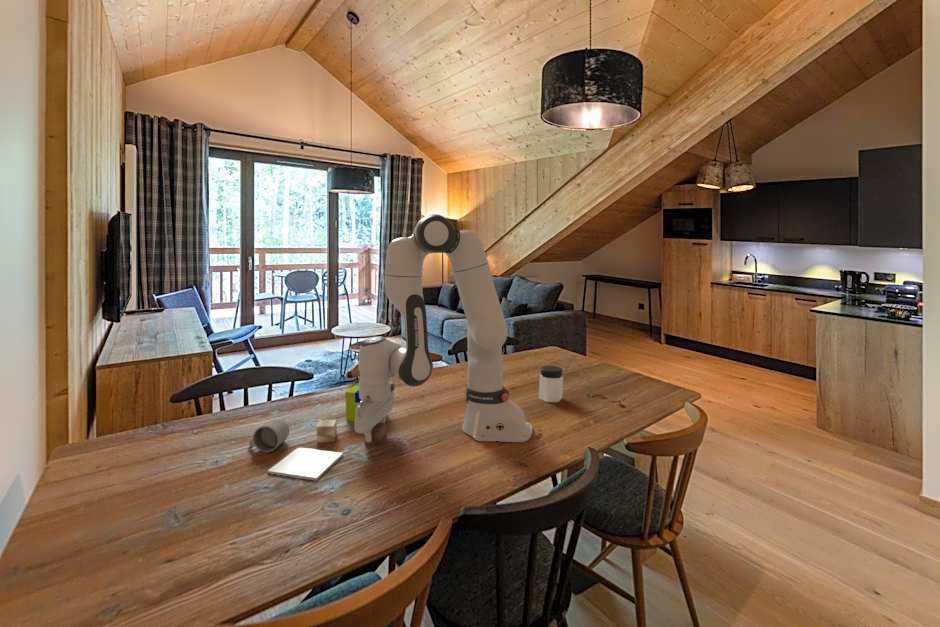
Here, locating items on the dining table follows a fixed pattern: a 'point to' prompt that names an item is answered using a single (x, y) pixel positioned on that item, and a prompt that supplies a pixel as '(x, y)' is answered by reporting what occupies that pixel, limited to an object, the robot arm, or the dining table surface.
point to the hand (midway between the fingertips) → (375, 435)
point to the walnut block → (378, 434)
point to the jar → (551, 384)
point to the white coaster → (306, 463)
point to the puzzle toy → (352, 402)
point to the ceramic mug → (270, 435)
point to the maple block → (326, 431)
